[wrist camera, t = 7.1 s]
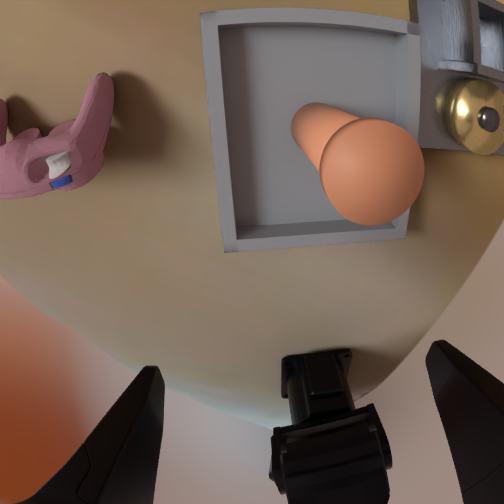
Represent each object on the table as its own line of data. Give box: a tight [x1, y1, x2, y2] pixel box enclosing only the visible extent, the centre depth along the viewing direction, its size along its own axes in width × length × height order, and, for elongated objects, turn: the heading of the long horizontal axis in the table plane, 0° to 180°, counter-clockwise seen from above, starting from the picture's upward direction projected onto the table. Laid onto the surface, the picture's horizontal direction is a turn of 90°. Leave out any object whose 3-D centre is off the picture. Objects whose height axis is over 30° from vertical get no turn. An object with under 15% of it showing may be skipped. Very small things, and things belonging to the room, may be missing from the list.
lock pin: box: [291, 102, 425, 226], centre depth 13 cm, size 4×4×9 cm
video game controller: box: [0, 72, 114, 199], centre depth 14 cm, size 10×5×7 cm, turn 88°
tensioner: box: [409, 0, 504, 155], centre depth 14 cm, size 11×9×4 cm
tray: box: [200, 8, 421, 253], centre depth 17 cm, size 14×12×2 cm
